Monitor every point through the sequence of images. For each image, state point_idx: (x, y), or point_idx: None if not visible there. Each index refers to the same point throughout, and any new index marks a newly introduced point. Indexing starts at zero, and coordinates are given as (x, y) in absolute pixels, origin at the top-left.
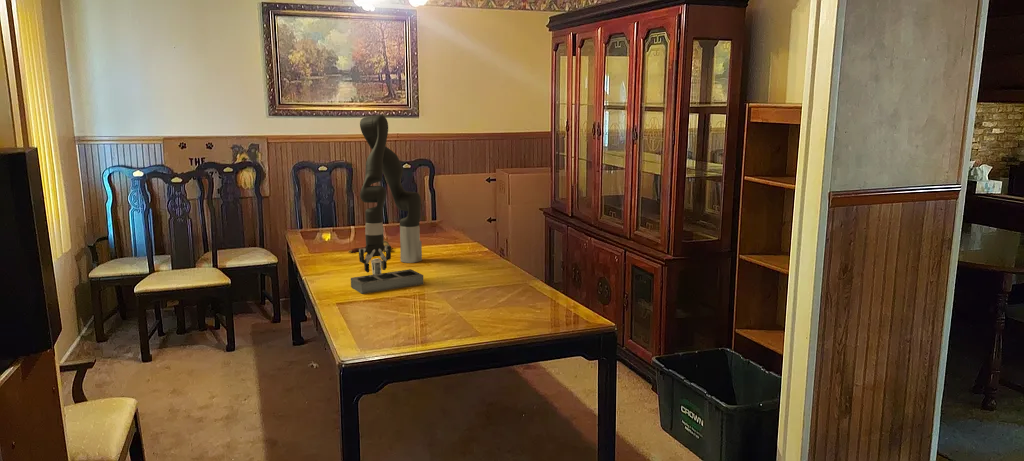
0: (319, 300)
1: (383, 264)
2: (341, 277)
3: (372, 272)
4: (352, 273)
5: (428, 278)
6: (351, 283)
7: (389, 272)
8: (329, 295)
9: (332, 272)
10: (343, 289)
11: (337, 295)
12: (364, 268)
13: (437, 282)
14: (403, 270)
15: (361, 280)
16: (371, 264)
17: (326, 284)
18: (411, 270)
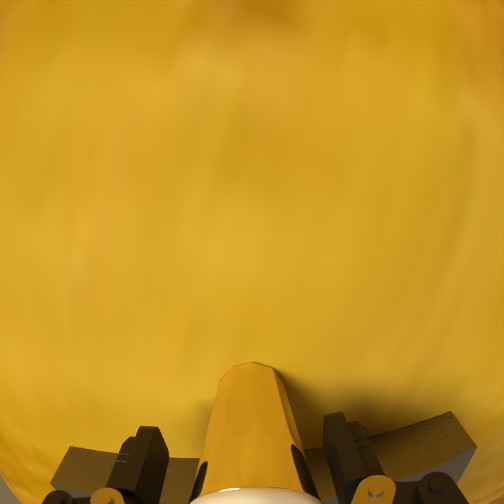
0: (7, 482)
1: (335, 480)
2: (7, 189)
3: (209, 421)
4: (103, 74)
5: (492, 422)
6: (66, 467)
7: (323, 500)
8: (16, 470)
9: (11, 22)
10: (43, 449)
11: (42, 486)
12: (119, 452)
13: (466, 474)
14: (428, 470)
15: None
16: (191, 489)
17: None
18: (457, 471)
